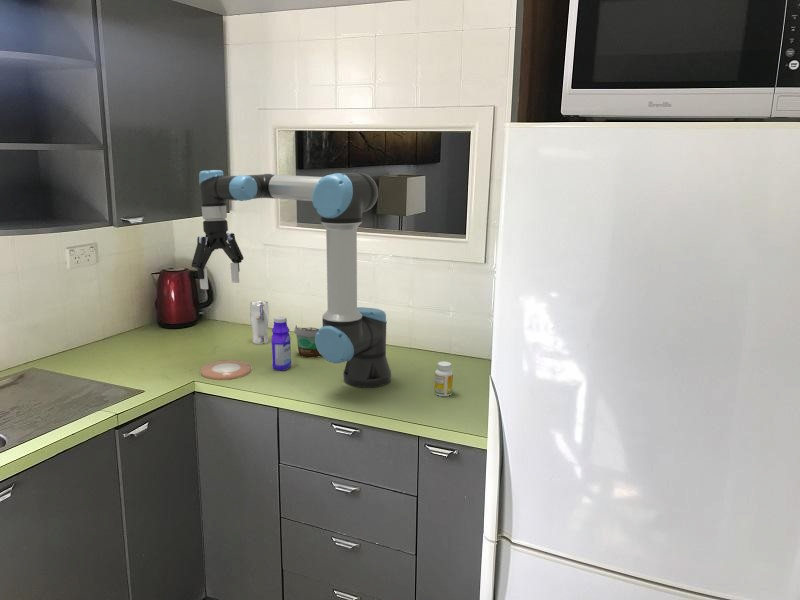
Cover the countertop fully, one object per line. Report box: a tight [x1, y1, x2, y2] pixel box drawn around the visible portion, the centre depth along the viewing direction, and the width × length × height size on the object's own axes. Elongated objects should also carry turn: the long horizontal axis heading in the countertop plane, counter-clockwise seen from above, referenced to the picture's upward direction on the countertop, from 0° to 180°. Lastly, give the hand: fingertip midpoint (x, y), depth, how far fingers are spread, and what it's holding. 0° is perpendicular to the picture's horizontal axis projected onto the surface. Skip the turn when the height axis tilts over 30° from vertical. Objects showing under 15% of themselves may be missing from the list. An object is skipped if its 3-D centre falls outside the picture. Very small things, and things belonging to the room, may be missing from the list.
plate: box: [200, 359, 252, 381], centre depth 213 cm, size 16×16×1 cm
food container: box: [293, 324, 323, 358], centre depth 228 cm, size 12×6×10 cm, turn 80°
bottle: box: [270, 315, 292, 372], centre depth 215 cm, size 7×6×17 cm
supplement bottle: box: [433, 361, 454, 397], centre depth 196 cm, size 5×5×10 cm
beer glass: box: [249, 300, 270, 345], centre depth 243 cm, size 7×7×15 cm
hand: (220, 285), depth 212 cm, fingers open, 13 cm apart
